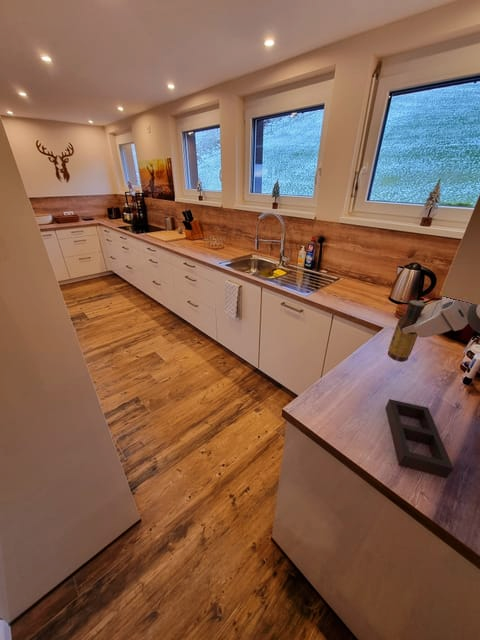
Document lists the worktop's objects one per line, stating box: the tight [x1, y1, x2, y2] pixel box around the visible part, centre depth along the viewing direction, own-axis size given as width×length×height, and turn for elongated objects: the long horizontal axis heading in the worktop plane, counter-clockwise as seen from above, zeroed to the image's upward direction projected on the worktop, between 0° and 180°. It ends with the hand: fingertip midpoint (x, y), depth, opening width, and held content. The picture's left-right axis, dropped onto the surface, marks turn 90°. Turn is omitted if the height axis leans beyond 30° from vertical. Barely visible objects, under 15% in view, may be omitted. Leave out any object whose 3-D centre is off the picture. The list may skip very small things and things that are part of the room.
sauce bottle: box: [387, 299, 426, 363], centre depth 82 cm, size 6×6×20 cm
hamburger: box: [393, 303, 408, 320], centre depth 137 cm, size 9×10×7 cm
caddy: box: [385, 399, 454, 479], centre depth 72 cm, size 11×20×4 cm, turn 163°
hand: (406, 326), depth 82 cm, fingers closed on sauce bottle, 6 cm apart
